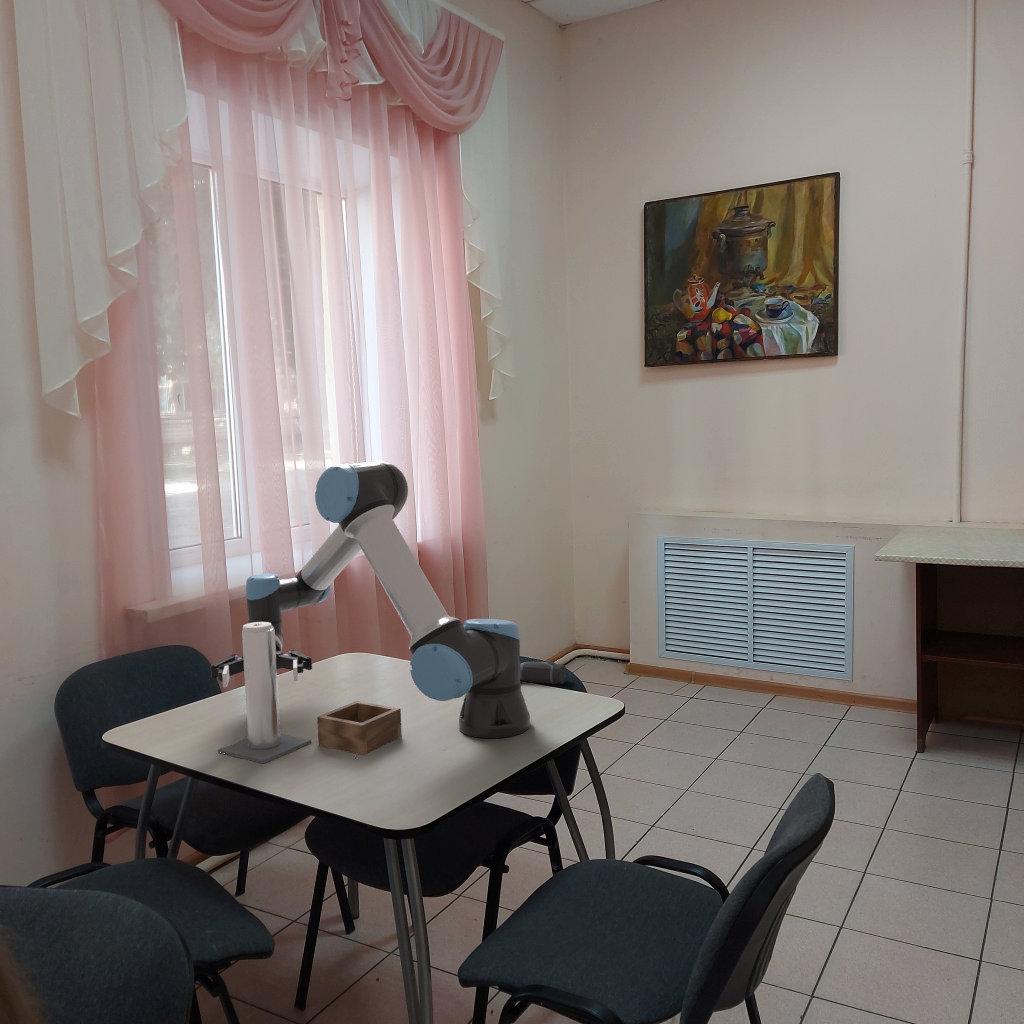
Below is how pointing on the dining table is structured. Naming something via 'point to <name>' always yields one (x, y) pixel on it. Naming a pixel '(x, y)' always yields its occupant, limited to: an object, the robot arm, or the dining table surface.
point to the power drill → (543, 672)
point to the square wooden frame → (359, 727)
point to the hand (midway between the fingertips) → (260, 677)
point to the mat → (266, 755)
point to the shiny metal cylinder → (261, 685)
